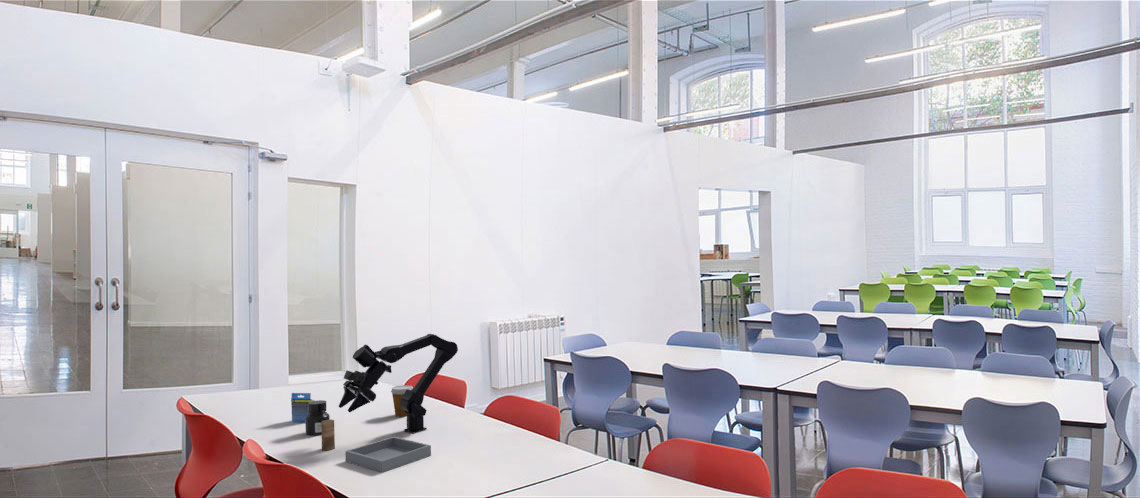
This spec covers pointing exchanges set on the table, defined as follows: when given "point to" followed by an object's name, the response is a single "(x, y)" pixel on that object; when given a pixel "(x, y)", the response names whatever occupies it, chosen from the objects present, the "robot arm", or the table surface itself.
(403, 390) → the disposable coffee cup
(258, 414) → the table surface
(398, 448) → the tray
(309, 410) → the ink bottle
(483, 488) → the table surface
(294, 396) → the label tape box
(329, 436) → the post
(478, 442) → the table surface
